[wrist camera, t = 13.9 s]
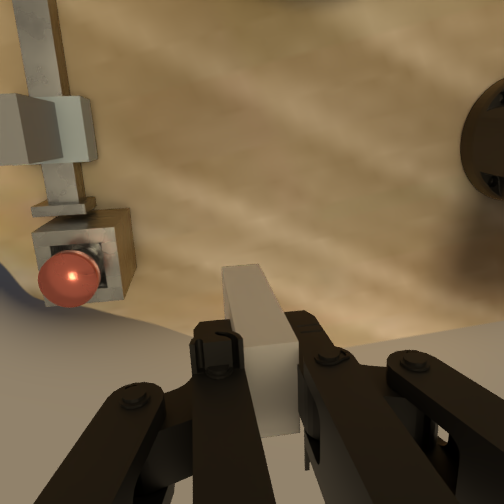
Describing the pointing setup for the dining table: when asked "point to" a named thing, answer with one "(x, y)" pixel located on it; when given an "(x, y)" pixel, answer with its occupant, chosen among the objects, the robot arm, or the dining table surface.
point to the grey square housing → (93, 231)
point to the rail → (49, 85)
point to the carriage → (45, 130)
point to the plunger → (72, 275)
